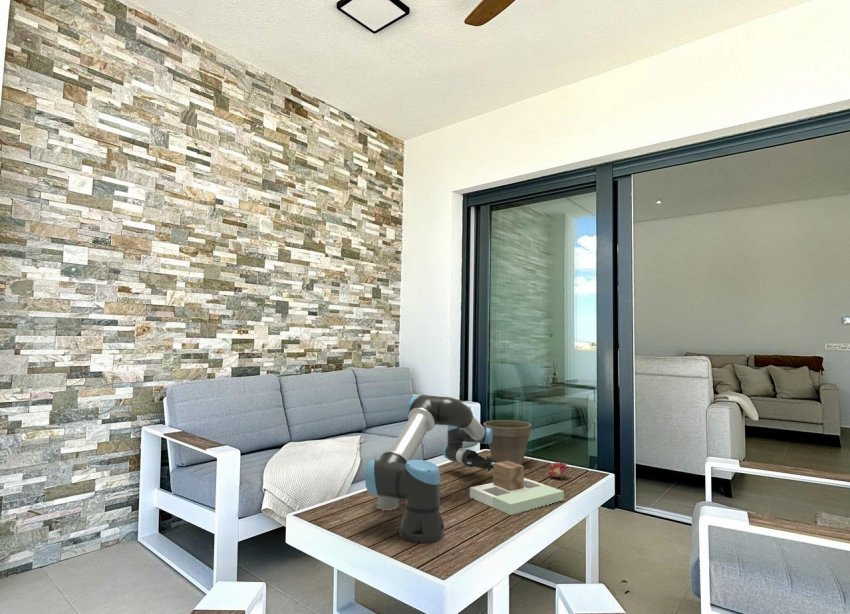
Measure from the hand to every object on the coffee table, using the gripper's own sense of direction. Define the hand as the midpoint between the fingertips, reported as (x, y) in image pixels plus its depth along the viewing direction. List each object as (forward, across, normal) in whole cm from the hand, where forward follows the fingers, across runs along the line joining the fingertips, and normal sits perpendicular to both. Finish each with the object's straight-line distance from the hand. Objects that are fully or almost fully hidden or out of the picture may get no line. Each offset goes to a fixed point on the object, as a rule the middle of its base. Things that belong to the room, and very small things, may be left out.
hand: (502, 469), depth 210 cm
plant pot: (-31, -34, -10) cm, 47 cm away
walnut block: (+5, +2, -6) cm, 8 cm away
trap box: (+10, +2, -10) cm, 14 cm away
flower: (-1, -37, -10) cm, 39 cm away
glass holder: (-10, +48, -10) cm, 50 cm away
